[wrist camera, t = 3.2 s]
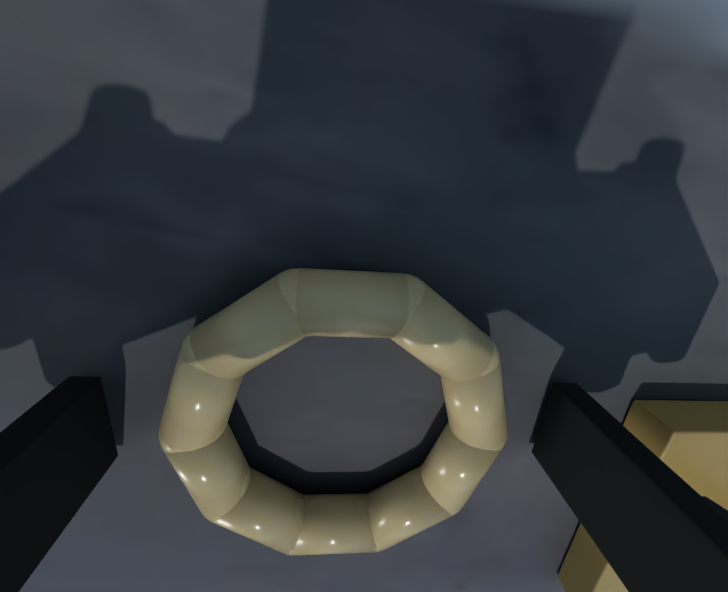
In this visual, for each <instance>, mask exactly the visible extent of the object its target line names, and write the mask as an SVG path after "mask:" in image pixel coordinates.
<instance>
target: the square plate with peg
mask: <svg viewBox="0 0 728 592" xmlns="http://www.w3.org/2000/svg"><path fill="white" fill-rule="evenodd" d="M623 426H624V427H625V428H626V429H627V430H629V431H630V432H631V433H632V434H633V435H634V436H635V437H636V438H637V439H638V440H640V441H641V442H642V443H643V444H644V445H645V446H646V447H647V448H648V449H650V450H651V451H652V452H653V453H654V454H655V455H656V456H657V457H658V458H660V459H661V460H662V461H663V462H664V463H665V464H666V465H667V466H668V467H670V468H671V469H672V470H673V471H674V472H675V473H676V474H677V475H678V476H680V477H681V478H682V479H683V480H684V481H685V482H686V483H687V484H688V485H690V486H691V487H692V488H693V489H694V490H695V491H696V492H697V493H698V494H700V495H701V496H706V497H708V498H709V499H711V500H712V501H714V502H715V503H717V504H719V505H720V506H722V507H723V508H725V509H726V510H728V401H679V400H634V401H633V403H632V405H631V408H630V410H629V412H628V415H627V417H626V419H625V422H624V424H623ZM558 578H559V580H560V581H561V583H562V585H563V587H564V589H565V591H566V592H628V590H627V589H626V587H625V586H624V584H623V583H622V582H621V580H620V579H619V577H618V576H617V574H616V573H615V571H614V570H613V569H612V567H611V566H610V564H609V563H608V561H607V560H606V559H605V557H604V556H603V554H602V553H601V551H600V550H599V548H598V547H597V546H596V544H595V543H594V541H593V540H592V538H591V537H590V535H589V534H588V533H587V531H586V530H585V528H584V527H583V525H582V524H581V523H580V525H579V527H578V530H577V532H576V534H575V537H574V539H573V541H572V543H571V546H570V548H569V550H568V553H567V555H566V557H565V560H564V562H563V564H562V566H561V569H560V571H559V573H558Z"/></svg>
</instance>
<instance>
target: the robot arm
mask: <svg viewBox="0 0 728 592" xmlns="http://www.w3.org/2000/svg"><path fill="white" fill-rule="evenodd" d="M532 453H533V455H534V456H535V457H536V459H537V460H538V462H539V463H540V465H541V466H542V468H543V469H544V470H545V472H546V473H547V475H548V476H549V478H550V479H551V481H552V482H553V483H554V485H555V486H556V488H557V489H558V491H559V492H560V494H561V495H562V496H563V498H564V499H565V501H566V502H567V504H568V505H569V507H570V508H571V509H572V511H573V512H574V514H575V515H576V517H577V518H578V520H579V521H580V522H581V524H582V525H583V527H584V528H585V530H586V531H587V533H588V534H589V535H590V537H591V538H592V540H593V541H594V543H595V544H596V546H597V547H598V548H599V550H600V551H601V553H602V554H603V556H604V557H605V559H606V560H607V561H608V563H609V564H610V566H611V567H612V569H613V570H614V571H615V573H616V574H617V576H618V577H619V579H620V580H621V582H622V583H623V584H624V586H625V587H626V589H627V590H628V592H728V510H726V509H725V508H723V507H722V506H720V505H719V504H717V503H715V502H714V501H712V500H711V499H709V498H708V497H706V496H701V495H700V494H698V493H697V492H696V491H695V490H694V489H693V488H692V487H691V486H690V485H688V484H687V483H686V482H685V481H684V480H683V479H682V478H681V477H680V476H678V475H677V474H676V473H675V472H674V471H673V470H672V469H671V468H670V467H668V466H667V465H666V464H665V463H664V462H663V461H662V460H661V459H660V458H658V457H657V456H656V455H655V454H654V453H653V452H652V451H651V450H650V449H648V448H647V447H646V446H645V445H644V444H643V443H642V442H641V441H640V440H638V439H637V438H636V437H635V436H634V435H633V434H632V433H631V432H630V431H629V430H627V429H626V428H625V427H624V426H623V425H622V424H621V423H620V422H619V421H617V420H616V419H615V418H614V417H613V416H612V415H611V414H610V413H609V412H607V411H606V410H605V409H604V408H603V407H602V406H601V405H600V404H599V403H597V402H596V401H595V400H594V399H593V398H592V397H591V396H590V395H589V394H587V393H586V392H585V391H584V390H583V389H582V388H581V387H580V386H579V385H577V384H576V383H553V386H552V389H551V392H550V396H549V399H548V402H547V405H546V408H545V411H544V414H543V418H542V421H541V424H540V427H539V430H538V433H537V436H536V440H535V443H534V446H533V449H532ZM117 456H118V454H117V449H116V445H115V440H114V436H113V432H112V427H111V423H110V418H109V414H108V409H107V405H106V400H105V396H104V392H103V387H102V383H101V378H100V377H77V376H69V377H68V378H67V379H66V380H64V381H63V382H62V383H61V384H59V385H58V386H57V387H56V388H54V389H53V390H52V391H51V392H50V393H48V394H47V395H46V396H45V397H43V398H42V399H41V400H40V401H39V402H37V403H36V404H35V405H34V406H32V407H31V408H30V409H29V410H27V411H26V412H25V413H24V414H23V415H21V416H20V417H19V418H18V419H16V420H15V421H14V422H13V423H12V424H10V425H9V426H8V427H7V428H5V429H4V430H3V431H2V432H0V592H19V590H20V589H21V588H22V586H23V585H24V584H25V582H26V581H27V580H28V578H29V577H30V575H31V574H32V573H33V571H34V570H35V569H36V567H37V566H38V564H39V563H40V562H41V560H42V559H43V558H44V556H45V555H46V553H47V552H48V551H49V549H50V548H51V547H52V545H53V544H54V543H55V541H56V540H57V538H58V537H59V536H60V534H61V533H62V532H63V530H64V529H65V527H66V526H67V525H68V523H69V522H70V521H71V519H72V518H73V516H74V515H75V514H76V512H77V511H78V510H79V508H80V507H81V505H82V504H83V503H84V501H85V500H86V499H87V497H88V496H89V495H90V493H91V492H92V490H93V489H94V488H95V486H96V485H97V484H98V482H99V481H100V479H101V478H102V477H103V475H104V474H105V473H106V471H107V470H108V468H109V467H110V466H111V464H112V463H113V462H114V460H115V459H116V457H117Z"/></svg>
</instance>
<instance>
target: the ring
mask: <svg viewBox="0 0 728 592" xmlns="http://www.w3.org/2000/svg"><path fill="white" fill-rule="evenodd" d="M306 336H330V337H364V338H390V339H392V340H393V341H394V342H396V343H397V344H398V345H400V346H401V347H402V348H404V349H405V350H406V351H408V352H409V353H411V354H412V355H413V356H415V357H416V358H417V359H419V360H420V361H421V362H423V363H424V364H425V365H427V366H428V367H429V368H431V369H432V370H433V371H435V372H436V373H438V374H439V375H440V377H441V382H442V388H443V393H444V399H445V404H446V410H447V415H448V420H449V421H448V423H447V424H446V426H445V428H444V429H443V431H442V433H441V434H440V436H439V438H438V439H437V441H436V443H435V444H434V446H433V448H432V449H431V451H430V453H429V454H428V456H427V458H426V459H425V461H424V463H423V464H422V465H421V466H419V467H418V468H416V469H414V470H412V471H410V472H408V473H406V474H404V475H402V476H400V477H398V478H396V479H394V480H393V481H391V482H389V483H387V484H385V485H383V486H381V487H379V488H377V489H375V490H373V491H371V492H370V493H358V494H308V495H303V494H301V493H299V492H297V491H295V490H293V489H291V488H289V487H287V486H285V485H284V484H282V483H280V482H278V481H276V480H274V479H272V478H270V477H268V476H266V475H264V474H262V473H260V472H258V471H256V470H254V469H252V468H250V467H249V465H248V463H247V461H246V459H245V457H244V455H243V453H242V451H241V449H240V447H239V445H238V443H237V441H236V439H235V437H234V435H233V433H232V431H231V429H230V427H229V425H228V420H229V417H230V414H231V411H232V408H233V405H234V402H235V399H236V396H237V393H238V390H239V388H240V385H241V382H242V379H243V376H244V374H245V373H246V372H248V371H250V370H251V369H253V368H255V367H256V366H258V365H260V364H261V363H263V362H265V361H266V360H268V359H270V358H271V357H273V356H275V355H276V354H278V353H280V352H281V351H283V350H285V349H286V348H288V347H290V346H291V345H293V344H295V343H296V342H298V341H300V340H301V339H303V338H305V337H306ZM507 433H508V429H507V420H506V410H505V400H504V390H503V381H502V371H501V361H500V355H499V351H498V348H497V346H496V345H495V343H494V342H493V340H492V339H491V338H490V337H489V336H487V335H486V334H485V333H484V332H483V331H482V330H480V329H479V328H478V327H477V326H476V325H474V324H473V323H472V322H471V321H470V320H468V319H467V318H466V317H465V316H464V315H462V314H461V313H460V312H459V311H458V310H457V309H455V308H454V307H453V306H452V305H451V304H449V303H448V302H447V301H446V300H445V299H443V298H442V297H441V296H440V295H439V294H437V293H436V292H435V291H434V290H433V289H432V288H430V287H429V286H428V285H427V284H426V283H424V282H423V281H422V280H421V279H419V278H417V277H416V276H413V275H411V274H405V273H391V272H371V271H351V270H331V269H311V268H293V269H289V270H285V271H283V272H281V273H279V274H278V275H276V276H275V277H273V278H271V279H270V280H268V281H267V282H265V283H264V284H262V285H260V286H259V287H257V288H256V289H254V290H253V291H251V292H249V293H248V294H246V295H245V296H243V297H242V298H240V299H238V300H237V301H235V302H234V303H232V304H231V305H229V306H227V307H226V308H224V309H223V310H221V311H220V312H218V313H216V314H215V315H213V316H212V317H210V318H209V319H207V320H205V321H204V322H202V323H201V324H199V325H198V326H196V327H195V328H193V329H192V330H191V331H190V332H189V333H188V334H187V335H186V337H185V338H184V340H183V342H182V344H181V347H180V350H179V354H178V358H177V362H176V365H175V369H174V373H173V377H172V380H171V384H170V388H169V392H168V396H167V399H166V403H165V407H164V411H163V415H162V418H161V422H160V426H159V432H158V437H159V443H160V445H161V448H162V449H163V451H164V453H165V454H166V456H167V457H168V459H169V461H170V462H171V464H172V466H173V467H174V469H175V470H176V472H177V474H178V475H179V477H180V479H181V480H182V482H183V483H184V485H185V487H186V488H187V490H188V492H189V493H190V495H191V496H192V498H193V500H194V501H195V503H196V505H197V506H198V508H199V509H200V511H201V513H202V514H203V515H204V517H205V518H206V519H208V520H209V521H211V522H213V523H215V524H217V525H220V526H222V527H224V528H227V529H229V530H231V531H233V532H236V533H238V534H240V535H243V536H245V537H247V538H250V539H252V540H254V541H257V542H259V543H261V544H263V545H266V546H268V547H270V548H273V549H275V550H277V551H280V552H282V553H284V554H287V555H319V554H344V553H370V552H380V551H382V550H385V549H387V548H389V547H391V546H393V545H395V544H397V543H399V542H401V541H403V540H405V539H407V538H409V537H411V536H413V535H415V534H417V533H419V532H421V531H423V530H425V529H427V528H429V527H431V526H433V525H435V524H437V523H439V522H441V521H443V520H445V519H447V518H449V517H451V516H453V515H455V514H457V513H458V512H459V511H460V510H461V509H462V507H463V506H464V504H465V503H466V501H467V500H468V499H469V497H470V496H471V494H472V493H473V491H474V490H475V488H476V487H477V485H478V484H479V482H480V481H481V480H482V478H483V477H484V475H485V474H486V472H487V471H488V469H489V468H490V466H491V465H492V464H493V462H494V461H495V459H496V458H497V456H498V455H499V453H500V452H501V450H502V449H503V447H504V446H505V443H506V440H507V436H508V434H507Z"/></svg>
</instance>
